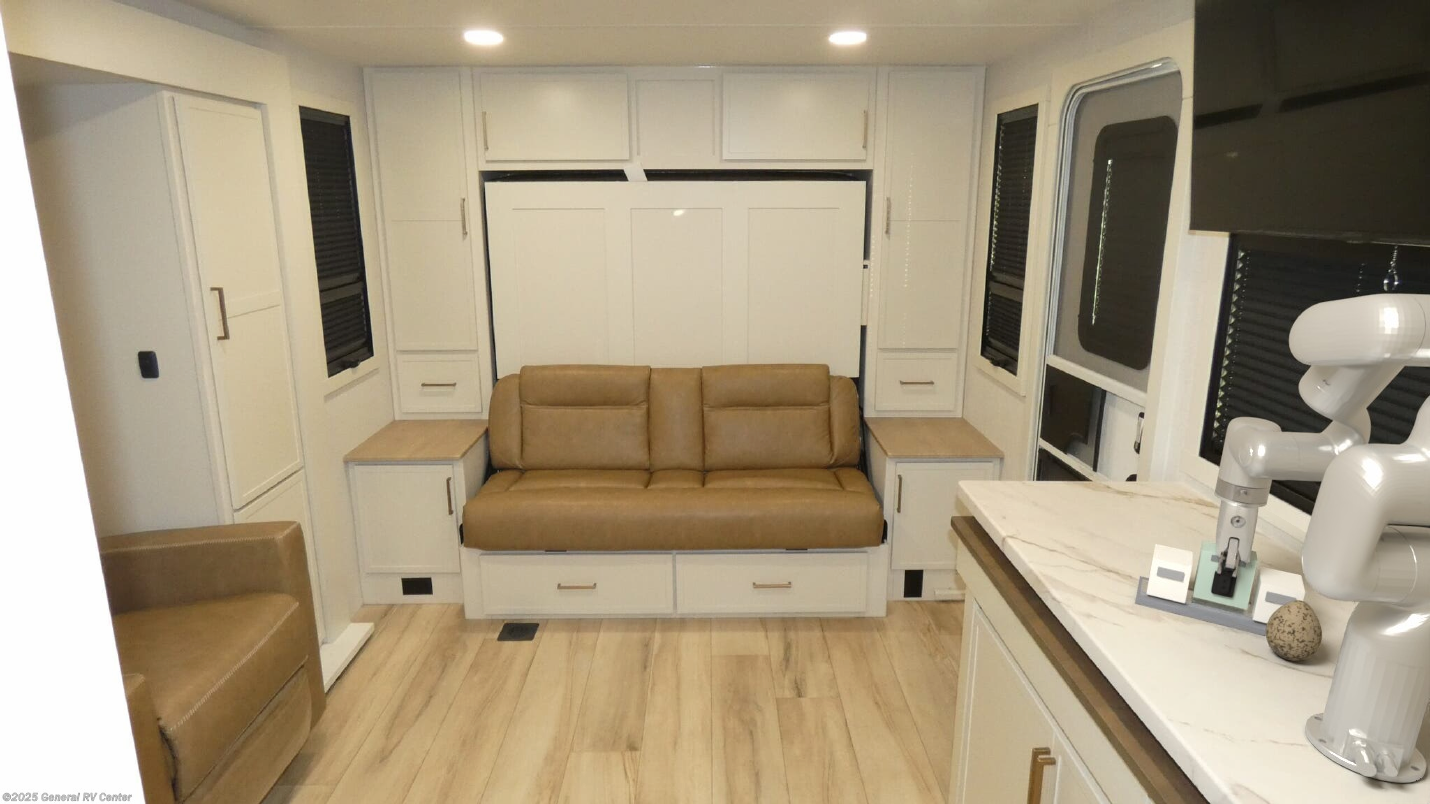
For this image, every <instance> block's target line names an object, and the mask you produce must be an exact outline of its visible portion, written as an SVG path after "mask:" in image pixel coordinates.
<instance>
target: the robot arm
mask: <svg viewBox="0 0 1430 804" xmlns="http://www.w3.org/2000/svg"><path fill="white" fill-rule="evenodd" d="M1288 345H1289V349H1290V352H1291V354H1292V356H1293V357H1294V358H1295V359H1296V360H1297V361H1298V362H1300V363H1301V364H1304V365H1308V366H1310V367H1309V368H1308V370H1307V371H1306V372H1305V373H1304V375H1302V377H1301V378H1300V380H1299V383H1298V392H1299V395H1300V397H1301V398H1302V400H1303V401H1304V403H1305V404H1306V405H1307V406H1308V407H1309V408H1311V409H1312V410H1313V411H1315V412H1317V413H1318V414H1320V415H1321V416H1324V417H1326V418H1328V419H1330V420H1332V422H1330V423H1329V425H1328V426H1327V427H1326V428H1325V429H1324V430H1323V431H1322V432H1317V433H1315V432H1298V431H1297V432H1296V431H1295V432H1294V431H1282V429H1281V426H1279V424H1277V423H1276V422H1274V421H1270V420H1267V419H1266V418H1265V419H1264V418H1259V417H1251V416H1240V417H1235V418H1233V419H1231V421H1229V423H1228V425H1227V428H1226V433H1225V437H1224V438H1225V439H1224V444H1223V448H1222V449H1223V450H1222V455H1221V459H1220V463H1219V468H1218V473H1217V479H1216V484H1215V488H1214V496H1215V497H1216V498H1217V499H1218V500H1220V504H1219V505H1220V506H1219V511H1218V517H1217V522H1216V523H1217V524H1216V530H1215V532H1216V533H1215V543H1216V555H1217V556H1218V557H1219V563H1218V568H1217V571H1215V573H1214V578H1213V583H1212V588H1211V593H1213V594H1217V595H1221V596H1225V597H1229V598H1232V597H1233V593H1234V589H1235V584H1236V579H1237V576H1236V574H1237V568H1238V563H1239V558H1240V557H1241V561H1244V562H1245V563H1248V562H1250V556H1251V551H1253V550H1252V549H1253V543H1254V541H1255V540H1254V539H1255V534H1256V533H1255V532H1256V528H1257V522H1258V517H1259V508H1263V507H1266V506H1267V504H1268V499H1269V495H1270V490H1271V486H1272V481H1274V480H1275V481H1303V482H1305V481H1306V482H1321V483H1320V486H1319V488H1318V493H1317V496H1316V500H1315V503H1314V507H1313V509H1312V513H1311V517H1310V520H1309V523H1308V526H1307V529H1306V533H1305V537H1304V541H1303V545H1302V551H1301V569H1302V574H1303V576H1304V579H1305V581H1306V582H1307V584H1308V585H1309V586H1310V588H1311V589H1312V590H1313V591H1315V593H1317V594H1319V595H1321V596H1323V597H1325V598H1328V599H1331V600H1335V601H1343V602H1352V603H1353V602H1354V603H1355V602H1356V603H1357V604H1356V606H1355V607H1354V608H1353V611H1352V612H1351V614H1350V616H1349V618H1348V620H1347V622H1346V627H1345V631H1344V634H1343V638H1342V640H1341V641H1342V642H1341V645H1340V649H1339V652H1338V653H1339V654H1338V658H1337V660H1336V664H1335V669H1334V672H1333V675H1332V676H1333V677H1332V681H1331V684H1330V688H1329V691H1328V696H1327V699H1326V703H1325V707H1324V710H1323V712H1321V713H1315V714H1313V715H1310V716H1309V717H1308V718H1307V720H1306V723H1305V725H1304V733H1305V735H1306V738H1307V739H1308V740H1309V742H1310V743H1311V745H1313V746H1314V748H1316V750H1317V751H1319V752H1320V753H1322V754H1323V755H1324V756H1325V757H1327V758H1328V759H1330V760H1332V761H1333V762H1335V763H1337V764H1338V765H1341V766H1342V767H1344V768H1347V769H1349V770H1350V771H1353V772H1355V773H1357V774H1360V775H1361V776H1364V777H1366V778H1367V777H1369V778H1372V779H1376V780H1379V781H1385V782H1389V783H1399V784H1400V783H1401V784H1402V783H1412V782H1417V781H1419V780H1421V779H1423V777H1424V776H1425V774H1426V770H1427V767H1428V766H1427V761H1426V758H1425V757H1424V755H1423V754H1422V753H1421V752H1420V751H1419V749H1418V748H1417V747H1416V744H1417V742H1418V738H1419V735H1420V732H1421V728H1422V725H1423V722H1424V719H1425V715H1426V712H1427V708H1428V704H1429V702H1430V528H1429V527H1423V526H1430V395H1429V396H1428V397H1427V398H1426V399H1425V401H1424V402H1423V403H1422V405H1421V406H1420V407H1419V409H1418V412H1417V414H1416V419H1415V421H1414V426H1413V428H1412V430H1411V432H1410V435H1409V436H1408V438H1407V439H1406V440H1405V441H1404V442H1401V443H1400V444H1396V443H1395V444H1394V443H1393V444H1391V443H1369V441H1370V439H1371V438H1370V437H1371V431H1372V430H1371V428H1372V425H1371V424H1372V423H1371V419H1370V418H1371V417H1370V414H1369V411H1368V409H1367V408H1368V407H1370V404H1372V403H1373V401H1374V400H1375V399H1376V398H1377V397H1378V396H1379V395H1380V394H1381V393H1382V392H1383V390H1384V389H1385V388H1387V386H1388V385H1389V384H1390V383H1391V382H1392V380H1394V379H1395V378H1396V376H1397V375H1398V374H1399V373H1400V372H1401V371H1402V369H1404V367H1429V368H1430V294H1424V293H1423V294H1420V293H1419V294H1417V293H1376V294H1369V295H1362V296H1356V297H1349V298H1343V299H1336V300H1329V301H1324V302H1318V303H1316V304H1313V305H1311V306H1309V307H1307V308H1306V309H1305V310H1304V311H1303V312H1302V313H1301V314H1299V316H1298V317H1297V318H1296V319H1295V321H1294V323H1293V324H1292V326H1291V328H1290V331H1289V336H1288ZM1408 525H1409V526H1408ZM1223 552H1224V553H1227V556H1223ZM1236 555H1237V556H1236ZM1223 560H1226V562H1225V563H1223ZM1222 563H1223V564H1222ZM1420 778H1421V779H1420ZM1416 780H1417V781H1416Z"/></svg>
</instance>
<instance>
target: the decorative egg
mask: <svg viewBox="0 0 1430 804" xmlns="http://www.w3.org/2000/svg"><path fill="white" fill-rule="evenodd" d="M1265 637H1266V642H1267V643H1268V645H1269V648H1270V649H1271V650H1272V651H1273V652H1274V653H1275V654H1276V655H1277V656H1279V657H1280V658H1282V659H1285V660H1286V661H1287V660H1288V661H1293V662H1299V661H1305V660H1307V659H1310V658H1311V657H1313V656H1314V655H1315V654H1316V653H1317V652H1318V651H1319V649H1320V647H1321V645H1322V641H1323V629H1322V626H1321V622H1320V620H1319V618H1318V616H1317V614H1316V613H1315V611H1314V610H1313V608H1312V607H1311V606H1310V605H1309V604H1308V603H1307V602H1305V601H1304V600H1303V601H1301V600H1295V601H1291V602H1289V603H1287V604H1285V605H1283V606H1281V607H1280V608H1278V609H1277V610H1276V611H1275V612H1274V613H1273V614H1272V615H1271V617H1270V618H1269V620H1268V622H1267V625H1266V636H1265Z"/></svg>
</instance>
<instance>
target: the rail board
mask: <svg viewBox="0 0 1430 804" xmlns="http://www.w3.org/2000/svg"><path fill="white" fill-rule="evenodd" d="M1193 555H1194V551H1190V550H1187V549H1185V550H1184V549H1181V548H1176V547H1171V546H1168V545H1162V544H1157V543H1155V544H1154V550H1153V554H1152V560H1151V567H1150V570H1149V571H1150V572H1149V577H1145V576H1142V575H1140V576H1139V579H1138V585H1137V590H1136V596H1135V601H1134V604H1137V605H1141V606H1144V607H1149V608H1151V609H1157V610H1161V611H1164V612H1168V613H1173V614H1176V615H1181V616H1184V617H1189V618H1193V619H1196V620H1201V621H1205V622H1209V623H1213V624H1216V625H1221V626H1224V627H1228V628H1232V629H1236V630H1241V631H1245V632H1249V633H1253V634H1256V635H1260V636H1263V637H1266V625H1267V622H1268V620H1269V618H1270V617H1271V615H1272V614H1273V613H1274V612H1275V611H1276V610H1277V609H1278V608H1280V607H1281V606H1283V605H1285V604H1287V603H1289V602H1291V601H1295V600H1301V601H1304V598H1305V594H1306V590H1305V585H1304V581H1303V576H1302V575H1301V574H1297V573H1293V572H1288V571H1283V570H1279V569H1274V568H1269V567H1264V566H1260V565H1259V566H1258V569H1257V575H1256V579H1255V584H1254V586H1253V587H1254V589H1253V591H1252V592H1253V593H1252V597H1251V601H1249V603H1248V607H1247V610H1246V609H1242V608H1238V607H1234V606H1229V605H1225V604H1221V603H1217V602H1213V601H1208V600H1204V599H1200V598H1196V597H1193V587H1189V585H1190V579H1191V575H1192V568H1193V557H1194V556H1193Z"/></svg>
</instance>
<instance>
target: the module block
mask: <svg viewBox="0 0 1430 804" xmlns="http://www.w3.org/2000/svg"><path fill="white" fill-rule="evenodd" d="M1201 541H1202V542H1201V547H1200V552H1199V557H1198V561H1197V566H1196V571H1195V576H1194V581H1193V585H1192V586H1193V587H1192V588H1193V597H1196V598H1200V599H1204V600H1208V601H1213V602H1217V603H1221V604H1225V605H1229V606H1234V607H1238V608H1242V609H1246V610H1247V607H1248V603H1249V602H1250V598H1251V593H1252V588H1253V583H1254V580H1255V574H1256V570H1257V567H1258V566H1257V565H1258V555H1257V551H1255V550H1252V551H1251V556H1250V562H1248V563H1245V562H1244V561H1241V557H1240V558H1239V563H1238V568H1237V574H1236V576H1237V579H1236V584H1235V589H1234V593H1233V597H1232V598H1229V597H1225V596H1221V595H1217V594H1213V593H1211V588H1212V583H1213V578H1214V573H1215V571H1217V568H1218V563H1219V557H1218V556H1217V555H1216V542H1213V541H1212V542H1211V541H1207V540H1201ZM1223 556H1227V553H1224V552H1223ZM1236 556H1237V555H1236ZM1225 562H1226V560H1223V563H1225ZM1223 563H1222V564H1223Z"/></svg>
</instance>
